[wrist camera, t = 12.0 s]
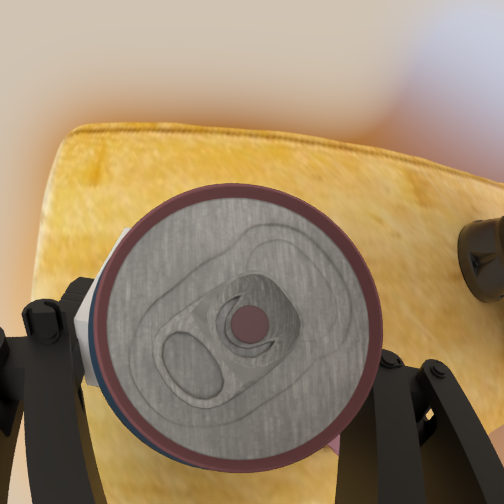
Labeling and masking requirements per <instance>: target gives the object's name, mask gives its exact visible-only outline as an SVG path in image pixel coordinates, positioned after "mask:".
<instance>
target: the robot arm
mask: <svg viewBox="0 0 504 504" xmlns="http://www.w3.org/2000/svg"><path fill="white" fill-rule="evenodd" d="M130 229H131V228H126V227H125V229H124V230H123V232H122V234H121V235H120V237H119V238H118V240H117V242H116V243H115V245H114V247H113V248H112V250H111V252H110V254H109V255H108V257H107V259H106V260H105V262H104V264H103V266H102V267H101V269H100V271H99V273H98V274H97V276H96V278H95V279H91V278H84V277H79V278H77V279H76V280H75V281H73V282H72V283H70V285H69V286H68V288H67V289H66V291H65V293H64V294H63V296H62V297H61V300H60V301H59V302H58V301H55V300H53V299H40V300H35V301H33V302H31V303H29V304H28V305H27V306H26V307H25V308H24V309H23V312H22V317H23V321H24V325H25V329H26V333H27V336H25V337H6V336H5V333H4V330H3V329H2V328H1V327H0V504H7V499H8V490H9V483H10V476H11V470H12V464H13V457H14V452H15V447H16V442H17V438H18V433H19V429H20V424H21V420H22V416H23V412H24V426H25V446H26V458H27V467H28V477H29V484H30V490H31V497H32V503H33V504H107V501H106V497H105V494H104V491H103V487H102V483H101V480H100V476H99V472H98V468H97V464H96V460H95V456H94V452H93V447H92V442H91V438H90V433H89V427H88V422H87V416H86V410H85V404H84V397H83V391H82V388H81V382H82V379H83V376H84V375H85V380H86V384H87V385H91V386H96V387H99V384H98V382H97V379H96V376H95V373H94V370H93V366H92V363H91V358H90V352H89V343H88V320H89V311H90V306H91V301H92V297H93V293H94V290H95V287H96V284H97V282H98V279H99V277H100V275H101V273H102V271H103V269H104V267H105V265H106V263H107V262H108V260H109V259H110V257H111V255H112V254H113V252H114V250H115V249H116V247H117V246H118V244H119V243H120V241H121V240H122V239H123V237H124V236H125V235H126V234H127V233H128V231H129V230H130ZM458 254H459V261H460V266H461V269H462V273H463V276H464V278H465V280H466V283H467V285H468V286H469V288H470V290H471V291H472V293H473V294H474V295H475V296H476V297H477V298H478V299H479V300H481V301H482V302H485V303H491V302H494V301H497V300H500V299H502V298H503V297H504V216H502V217H501V218H495V219H489V220H484V221H483V220H477V221H474V222H472V223H470V224H469V225H467V226H465V227H464V228H463V229H462V231H461V233H460V236H459V241H458ZM430 409H432V411H433V413H434V415H433V416H432V418H431V419H430V420H428V419H427V418H426V414H427V413H428V411H429V410H430ZM335 504H504V468H503V465H502V463H501V461H500V459H499V457H498V455H497V453H496V451H495V449H494V447H493V445H492V443H491V441H490V439H489V437H488V435H487V433H486V431H485V430H484V428H483V426H482V424H481V422H480V420H479V418H478V417H477V415H476V413H475V411H474V409H473V408H472V406H471V404H470V402H469V401H468V399H467V397H466V395H465V394H464V392H463V390H462V389H461V387H460V385H459V384H458V382H457V380H456V379H455V377H454V375H453V374H452V372H451V370H450V369H449V368H448V367H447V366H446V365H445V364H444V363H442V362H441V361H438V360H434V359H429V360H426V361H425V362H424V363H423V364H422V366H421V368H420V369H418V368H413V367H408V366H405V365H404V363H403V361H402V360H401V358H400V357H399V356H398V355H396V354H395V353H393V352H391V351H388V350H385V349H382V352H381V359H380V363H379V367H378V371H377V374H376V378H375V380H374V383H373V385H372V388H371V390H370V392H369V394H368V396H367V398H366V400H365V402H364V404H363V405H362V407H361V409H360V410H359V412H358V413H357V414H356V416H355V417H354V419H353V420H352V421H351V422H350V423H349V425H348V426H347V427H346V428H345V429H344V430H343V431H342V432H341V433H340V444H339V460H338V474H337V486H336V496H335Z"/></svg>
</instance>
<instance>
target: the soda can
mask: <svg viewBox="0 0 504 504" xmlns="http://www.w3.org/2000/svg"><path fill="white" fill-rule="evenodd" d="M88 343H89V352H90V358H91V363H92V366H93V370H94V373H95V376H96V379H97V382H98V384H99V387H100V389H101V391H102V393H103V395H104V397H105V399H106V400H107V402H108V404H109V406H110V407H111V409H112V410H113V411H114V413H115V414H116V416H117V417H118V418H119V419H120V421H121V422H122V423H123V424H124V425H125V426H126V427H127V428H128V429H129V430H130V431H131V432H132V433H133V434H134V435H135V436H136V437H137V438H138V439H140V440H141V441H142V442H143V443H145V444H146V445H148V446H149V447H150V448H152V449H154V450H155V451H157V452H158V453H160V454H162V455H164V456H166V457H168V458H170V459H172V460H175V461H177V462H180V463H182V464H186V465H189V466H192V467H196V468H201V469H206V470H213V471H219V472H229V473H254V472H262V471H269V470H273V469H277V468H281V467H284V466H287V465H290V464H293V463H295V462H298V461H300V460H302V459H304V458H306V457H308V456H310V455H312V454H314V453H315V452H317V451H318V450H320V449H322V448H323V447H324V446H326V445H327V444H328V443H330V442H331V441H332V440H333V439H334V438H336V437H337V436H338V435H339V434H340V433H341V432H342V431H343V430H344V429H345V428H346V427H347V426H348V425H349V423H350V422H351V421H352V420H353V419H354V417H355V416H356V414H357V413H358V412H359V410H360V409H361V407H362V405H363V404H364V402H365V400H366V398H367V396H368V394H369V392H370V390H371V388H372V385H373V383H374V380H375V378H376V374H377V371H378V367H379V363H380V359H381V352H382V343H383V320H382V311H381V305H380V300H379V296H378V292H377V289H376V286H375V283H374V280H373V278H372V275H371V273H370V271H369V268H368V267H367V265H366V263H365V261H364V259H363V257H362V256H361V254H360V252H359V251H358V249H357V248H356V247H355V245H354V244H353V242H352V241H351V240H350V239H349V237H348V236H347V235H346V234H345V233H344V232H343V231H342V230H341V229H340V227H338V226H337V225H336V224H335V223H334V222H333V221H332V220H331V219H330V218H328V217H327V216H326V215H325V214H323V213H322V212H321V211H319V210H318V209H316V208H315V207H313V206H311V205H310V204H308V203H306V202H305V201H303V200H301V199H299V198H297V197H294V196H292V195H290V194H287V193H284V192H282V191H279V190H275V189H272V188H268V187H263V186H258V185H251V184H240V183H225V184H214V185H208V186H203V187H199V188H195V189H192V190H189V191H186V192H184V193H181V194H179V195H177V196H175V197H173V198H171V199H169V200H167V201H165V202H164V203H162V204H160V205H159V206H157V207H156V208H154V209H153V210H151V211H150V212H149V213H147V214H146V215H145V216H144V217H143V218H142V219H140V220H139V221H138V222H137V223H136V224H135V225H134V226H133V227H132V228H131V229H130V230H129V231H128V233H127V234H126V235H125V236H124V237H123V239H122V240H121V241H120V243H119V244H118V246H117V247H116V249H115V250H114V252H113V254H112V255H111V257H110V259H109V260H108V262H107V263H106V265H105V267H104V269H103V271H102V273H101V275H100V277H99V279H98V282H97V284H96V287H95V290H94V293H93V297H92V301H91V306H90V311H89V320H88Z"/></svg>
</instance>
